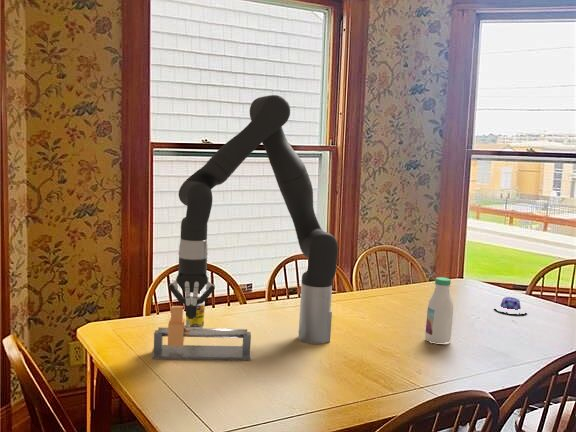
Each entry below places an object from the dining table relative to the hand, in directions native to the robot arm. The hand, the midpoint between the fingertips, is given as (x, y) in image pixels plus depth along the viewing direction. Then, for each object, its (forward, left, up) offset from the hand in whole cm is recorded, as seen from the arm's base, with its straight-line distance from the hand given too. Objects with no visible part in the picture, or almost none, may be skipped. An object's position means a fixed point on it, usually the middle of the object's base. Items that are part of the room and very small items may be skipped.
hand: (190, 318), depth 167 cm
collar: (+4, 0, -7) cm, 8 cm away
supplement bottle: (-1, -24, -10) cm, 26 cm away
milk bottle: (-76, -14, -10) cm, 77 cm away
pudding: (-117, -51, -11) cm, 128 cm away
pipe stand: (-4, 0, -10) cm, 11 cm away
